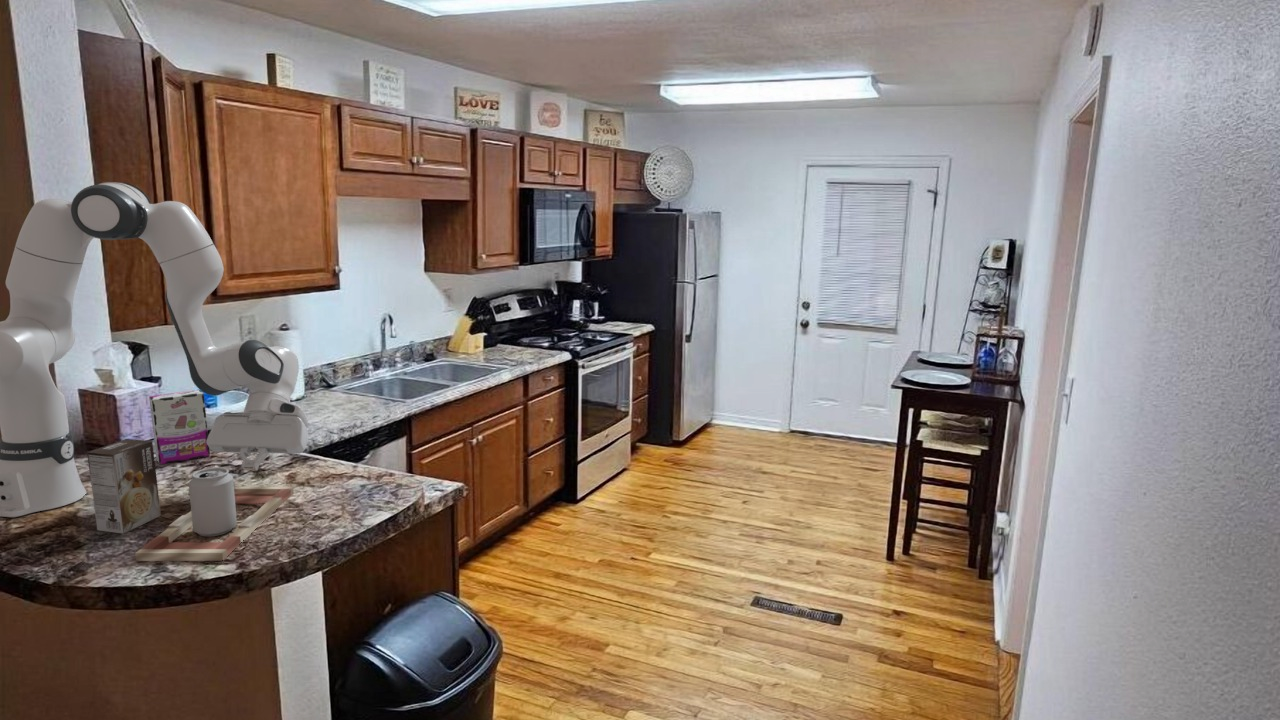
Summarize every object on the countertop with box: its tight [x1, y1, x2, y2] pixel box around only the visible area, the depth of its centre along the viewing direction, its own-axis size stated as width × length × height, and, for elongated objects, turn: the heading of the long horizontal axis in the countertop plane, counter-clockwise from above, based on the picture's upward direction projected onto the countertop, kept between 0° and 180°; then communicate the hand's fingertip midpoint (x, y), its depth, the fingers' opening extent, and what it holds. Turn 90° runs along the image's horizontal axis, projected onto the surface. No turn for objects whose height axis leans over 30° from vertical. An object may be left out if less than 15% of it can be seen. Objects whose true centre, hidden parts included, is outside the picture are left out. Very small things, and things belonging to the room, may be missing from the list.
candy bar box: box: [148, 389, 211, 465], centre depth 188 cm, size 11×5×16 cm, turn 131°
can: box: [188, 467, 238, 537], centre depth 148 cm, size 8×8×12 cm
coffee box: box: [86, 438, 162, 534], centre depth 150 cm, size 9×6×16 cm
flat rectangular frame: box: [134, 485, 295, 562], centre depth 153 cm, size 15×33×2 cm, turn 4°
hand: (249, 469), depth 165 cm, fingers closed
